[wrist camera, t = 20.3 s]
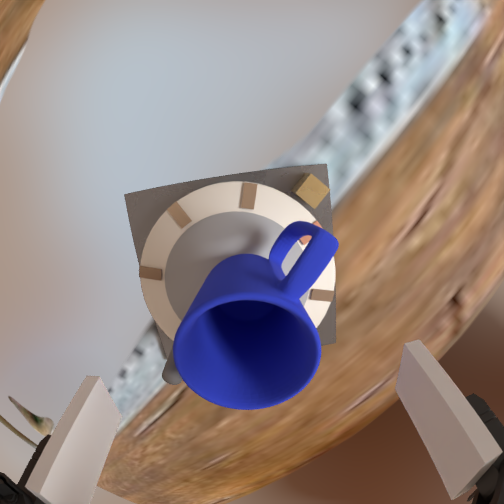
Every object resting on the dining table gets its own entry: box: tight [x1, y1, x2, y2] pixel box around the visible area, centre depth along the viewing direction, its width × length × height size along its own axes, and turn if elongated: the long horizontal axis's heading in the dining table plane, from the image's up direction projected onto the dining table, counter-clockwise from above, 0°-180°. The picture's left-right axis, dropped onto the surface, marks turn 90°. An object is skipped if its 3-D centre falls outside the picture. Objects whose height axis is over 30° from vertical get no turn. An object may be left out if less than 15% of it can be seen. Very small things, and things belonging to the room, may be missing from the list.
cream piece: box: [139, 181, 335, 385], centre depth 23 cm, size 17×17×8 cm
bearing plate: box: [125, 164, 336, 359], centre depth 26 cm, size 18×18×3 cm
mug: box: [173, 221, 339, 410], centre depth 19 cm, size 8×12×10 cm
